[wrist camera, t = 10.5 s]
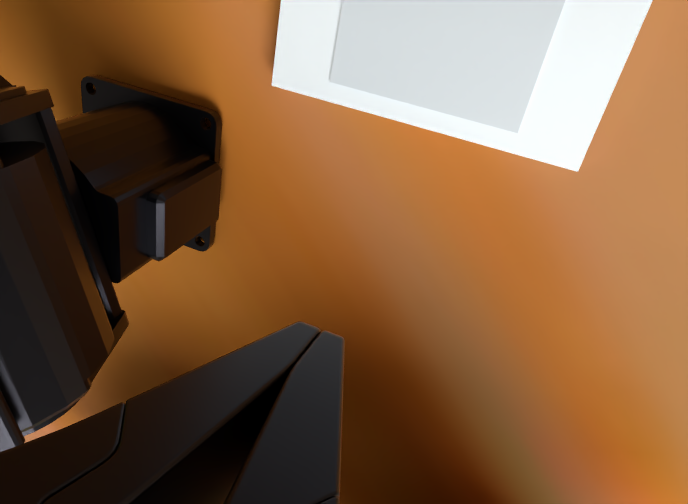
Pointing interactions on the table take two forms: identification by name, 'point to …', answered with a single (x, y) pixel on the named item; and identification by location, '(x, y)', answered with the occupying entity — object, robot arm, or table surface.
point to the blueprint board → (466, 65)
